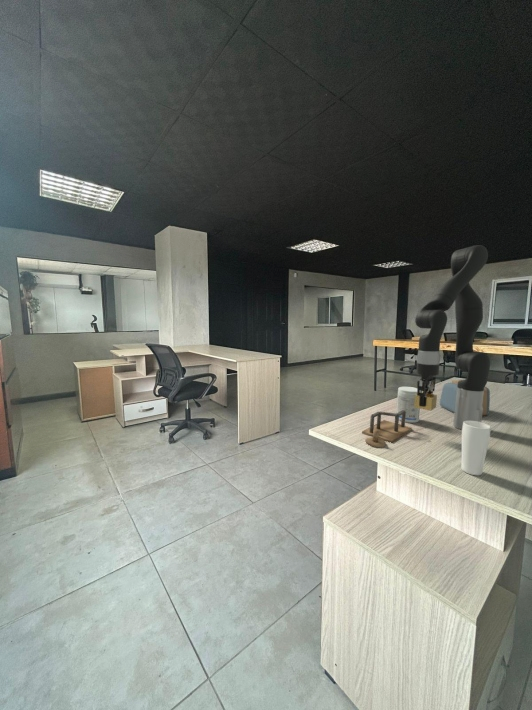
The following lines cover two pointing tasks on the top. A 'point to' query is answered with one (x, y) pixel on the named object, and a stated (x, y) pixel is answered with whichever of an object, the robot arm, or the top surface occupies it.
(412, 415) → the supplement tub
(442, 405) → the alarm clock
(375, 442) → the end peg
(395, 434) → the wire board
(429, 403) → the yellow open box
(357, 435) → the top surface
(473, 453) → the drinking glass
